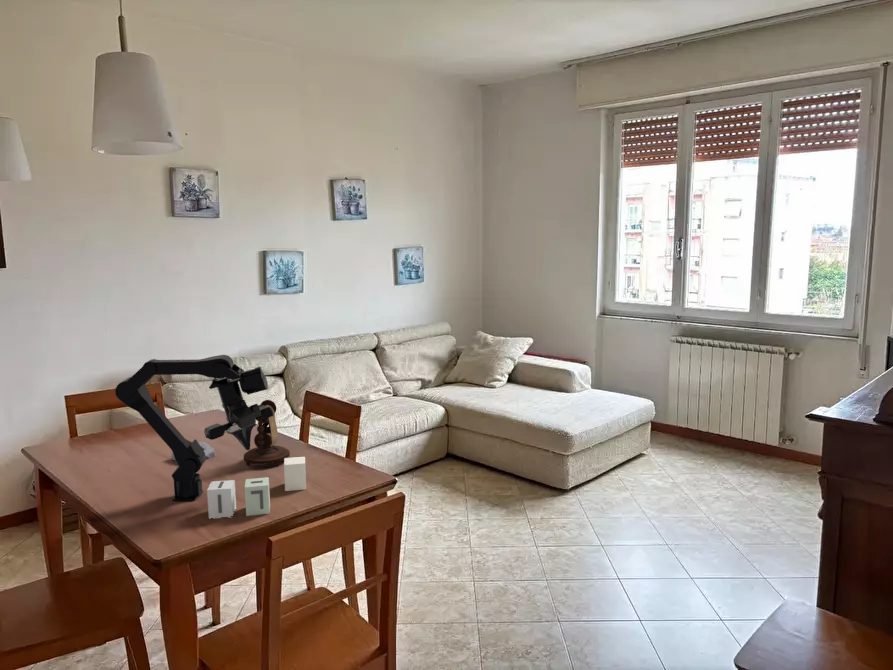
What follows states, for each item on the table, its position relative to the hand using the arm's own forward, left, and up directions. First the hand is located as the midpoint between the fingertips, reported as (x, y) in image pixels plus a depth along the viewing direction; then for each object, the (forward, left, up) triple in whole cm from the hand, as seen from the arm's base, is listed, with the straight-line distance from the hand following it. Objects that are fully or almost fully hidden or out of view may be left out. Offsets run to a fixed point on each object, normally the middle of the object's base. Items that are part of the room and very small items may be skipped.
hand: (248, 449), depth 184 cm
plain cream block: (+12, +5, -13) cm, 18 cm away
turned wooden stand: (-3, +27, -13) cm, 30 cm away
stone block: (-28, +30, -14) cm, 43 cm away
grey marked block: (-3, -14, -13) cm, 19 cm away
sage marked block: (+6, -12, -13) cm, 19 cm away
